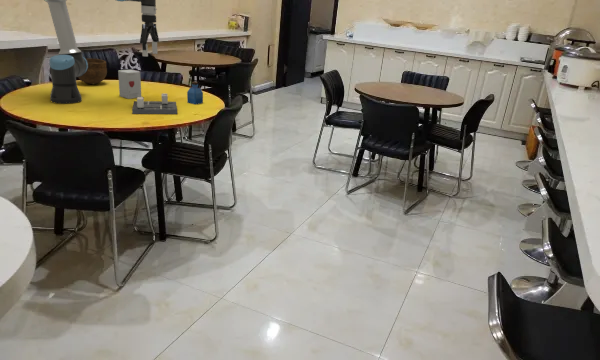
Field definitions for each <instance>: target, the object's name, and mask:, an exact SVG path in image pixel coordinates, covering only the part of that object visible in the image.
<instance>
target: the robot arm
mask: <svg viewBox="0 0 600 360" xmlns="http://www.w3.org/2000/svg"><path fill="white" fill-rule="evenodd" d="M43 1H45V2H46V3H47V5H48V8H49V9H48V10H49V12H50V16H51V19H52V23H53V27H54V32H55V35H56V38H57V42H58V45H59V48H60V49H59V52H58V54H55V55H52V56H51V57H50V58H49V69H50V76H51V77H50V78H51V84H52V87H51V92H50V97H49V99H50V102H51V101H52V102H51V103H54V102H55V103H56V104H63V105H65V104H76V103H80V102H82V101H83V99H82V94H81V92H80V89H79V88H78V86H77V85H78V84H77V78H78V77H79V76H82V75H83V74H84V73H85V72H86V71H87V68H88V63H87V61H86V59H87V58H85V57H84V56H83V53H82V50H81V49H79V48H78V45H77V41H76V37H75V33H74V29H73V26H72V21H71V18H70V14H69V9H68V6H67V1H68V0H43ZM116 1H117V2H139V3H140V13H141V22H143V23H142V24H141V31H140V38H139V39H140V40H139V43H140V45H141V49H142V53H141V55H142V57H149V53H148V51H149V50H148V48H149V47H148V39H149V37H151V40H152V41H151V49H152V50H151V51H152V54H153V55H158V43H159V42H160V38H159V33H158V29H157V15H156V14H157V10H158V9H157V6H156V2H157V1H156V0H116ZM149 35H150V36H149ZM55 103H54V104H55Z"/></svg>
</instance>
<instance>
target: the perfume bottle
mask: <svg viewBox="0 0 600 360" xmlns="http://www.w3.org/2000/svg"><path fill="white" fill-rule="evenodd" d="M191 83H192V84H191V87H190V88H189V89H188V90H187V92H186V93H187V94H186V95H187V96H186V97H187V101H186V102H187V104H192V105H200V104H203V103H204V92H203V90H202V89H201V87H199V84H198V83H199V82H198V81H192V82H191Z"/></svg>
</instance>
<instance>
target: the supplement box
mask: <svg viewBox="0 0 600 360" xmlns="http://www.w3.org/2000/svg"><path fill="white" fill-rule="evenodd" d="M117 72H118V73H117V74H118V90H119V97H122V98H125V99H127V100H129V99H137V97H142V81H141V71H139V70H134V69H121V70H118V71H117Z"/></svg>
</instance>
